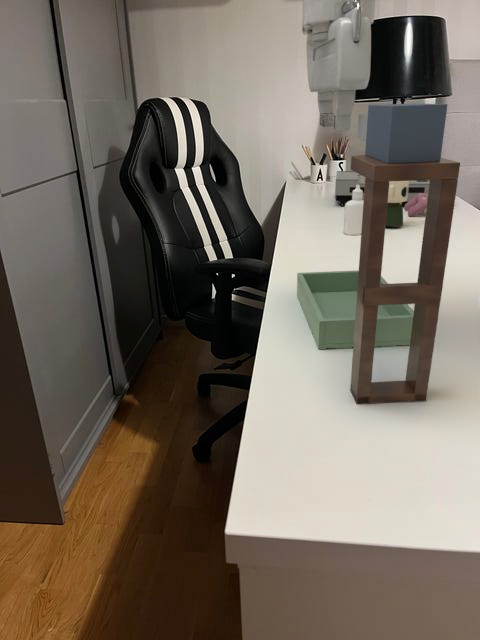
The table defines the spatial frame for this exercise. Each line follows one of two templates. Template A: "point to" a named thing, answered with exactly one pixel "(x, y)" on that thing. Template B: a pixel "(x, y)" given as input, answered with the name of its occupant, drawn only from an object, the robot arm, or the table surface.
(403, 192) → the character mug
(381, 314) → the tray
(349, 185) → the game console
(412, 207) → the video game controller
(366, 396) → the shelf stand
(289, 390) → the table surface
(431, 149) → the slate grey square prism
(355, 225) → the eye dropper bottle
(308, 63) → the robot arm
